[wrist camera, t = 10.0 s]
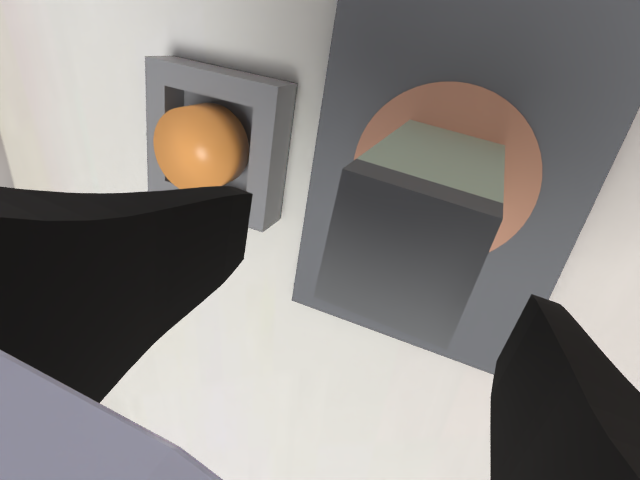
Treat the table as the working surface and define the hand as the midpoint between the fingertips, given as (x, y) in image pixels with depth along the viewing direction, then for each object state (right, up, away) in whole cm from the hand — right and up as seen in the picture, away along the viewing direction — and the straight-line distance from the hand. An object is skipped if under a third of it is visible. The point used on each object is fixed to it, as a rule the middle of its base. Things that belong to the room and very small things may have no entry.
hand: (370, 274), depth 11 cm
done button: (-7, +6, +11) cm, 14 cm away
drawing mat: (+4, +4, +9) cm, 10 cm away
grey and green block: (+4, +4, +8) cm, 10 cm away
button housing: (-6, +6, +12) cm, 15 cm away
